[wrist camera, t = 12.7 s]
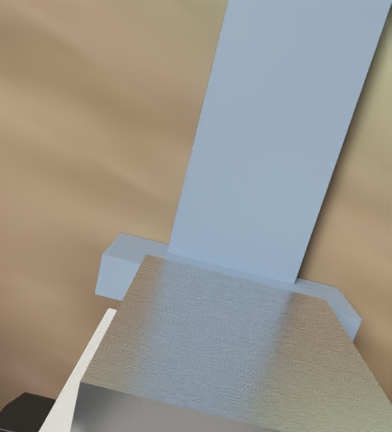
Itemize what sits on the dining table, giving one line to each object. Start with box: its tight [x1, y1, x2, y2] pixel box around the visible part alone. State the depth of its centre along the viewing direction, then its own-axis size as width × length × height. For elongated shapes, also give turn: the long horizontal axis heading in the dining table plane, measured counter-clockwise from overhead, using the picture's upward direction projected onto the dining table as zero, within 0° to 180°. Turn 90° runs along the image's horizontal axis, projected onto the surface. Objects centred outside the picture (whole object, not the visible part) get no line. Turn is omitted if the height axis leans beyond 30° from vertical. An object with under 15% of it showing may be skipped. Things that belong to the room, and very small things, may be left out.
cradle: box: [95, 0, 392, 342], centre depth 12 cm, size 9×15×2 cm, turn 166°
